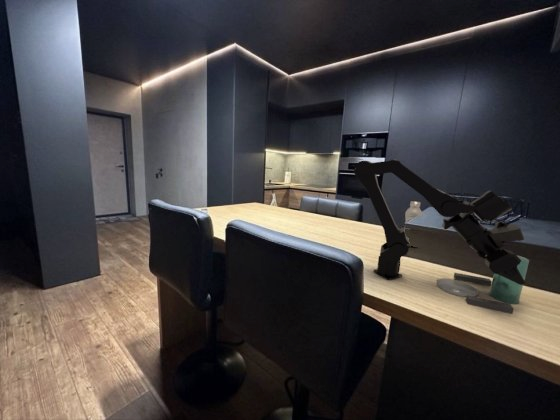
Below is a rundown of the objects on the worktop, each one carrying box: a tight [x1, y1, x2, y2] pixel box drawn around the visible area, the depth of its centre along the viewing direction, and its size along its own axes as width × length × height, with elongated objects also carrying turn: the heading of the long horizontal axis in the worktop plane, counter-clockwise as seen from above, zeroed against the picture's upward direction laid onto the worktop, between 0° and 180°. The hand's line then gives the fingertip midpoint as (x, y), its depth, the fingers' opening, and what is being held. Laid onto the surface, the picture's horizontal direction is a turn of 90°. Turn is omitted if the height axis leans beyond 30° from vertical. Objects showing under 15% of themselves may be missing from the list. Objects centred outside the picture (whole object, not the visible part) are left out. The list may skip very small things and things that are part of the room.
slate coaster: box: [435, 277, 479, 298], centre depth 71 cm, size 10×10×1 cm
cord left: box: [453, 272, 492, 287], centre depth 75 cm, size 9×2×2 cm, turn 64°
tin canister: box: [489, 254, 530, 305], centre depth 65 cm, size 6×6×12 cm
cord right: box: [465, 295, 514, 314], centre depth 62 cm, size 9×2×2 cm, turn 64°
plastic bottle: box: [404, 200, 423, 223], centre depth 105 cm, size 6×7×20 cm
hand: (515, 276), depth 64 cm, fingers open, 9 cm apart
